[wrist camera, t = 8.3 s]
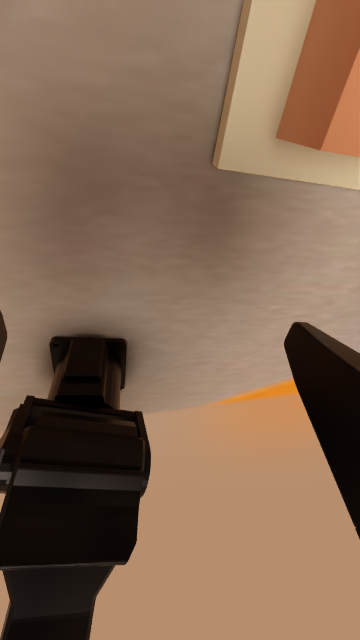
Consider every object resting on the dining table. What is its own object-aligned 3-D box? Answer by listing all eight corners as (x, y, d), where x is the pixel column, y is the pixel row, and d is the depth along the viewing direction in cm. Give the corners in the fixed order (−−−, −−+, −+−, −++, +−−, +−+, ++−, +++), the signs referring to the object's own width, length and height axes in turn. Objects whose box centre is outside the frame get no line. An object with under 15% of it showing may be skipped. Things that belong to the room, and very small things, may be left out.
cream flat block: (373, 188, 20) (401, 198, 18) (212, 164, 18) (222, 172, 16) (481, -22, 15) (540, -42, 12) (262, -97, 12) (289, -138, 10)
